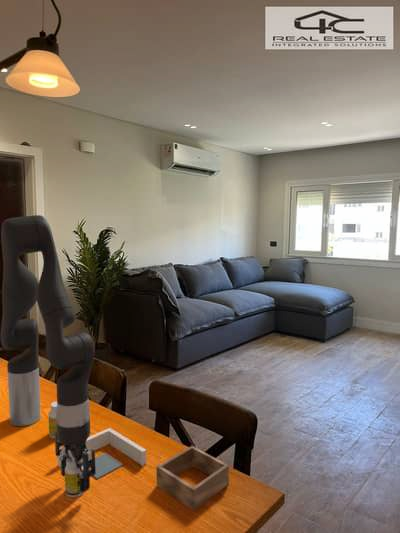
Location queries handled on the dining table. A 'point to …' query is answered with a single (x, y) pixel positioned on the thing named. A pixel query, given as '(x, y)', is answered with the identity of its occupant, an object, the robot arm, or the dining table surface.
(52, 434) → the supplement bottle
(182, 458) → the box
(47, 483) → the dining table surface
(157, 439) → the dining table surface
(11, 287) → the robot arm
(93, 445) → the corner arena
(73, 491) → the supplement bottle
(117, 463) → the pad
